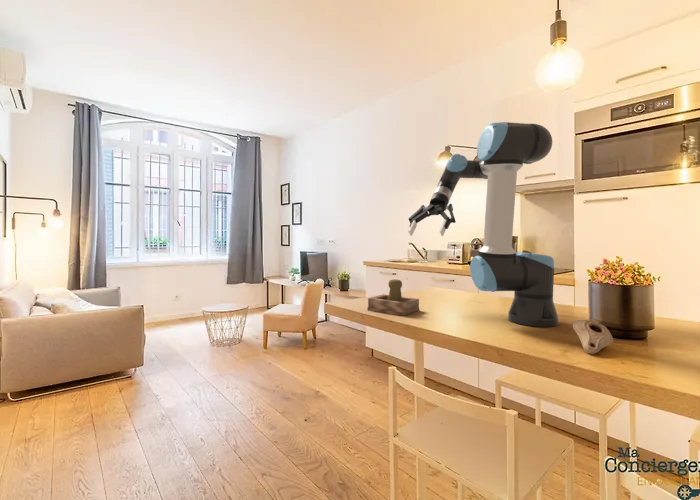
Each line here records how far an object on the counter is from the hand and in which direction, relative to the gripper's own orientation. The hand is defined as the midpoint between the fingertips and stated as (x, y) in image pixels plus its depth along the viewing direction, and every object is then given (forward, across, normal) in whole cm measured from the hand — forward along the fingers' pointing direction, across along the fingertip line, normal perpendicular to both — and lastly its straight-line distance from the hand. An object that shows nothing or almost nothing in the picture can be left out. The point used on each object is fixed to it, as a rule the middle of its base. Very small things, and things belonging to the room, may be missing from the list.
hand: (425, 233), depth 142 cm
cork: (+31, +5, -10) cm, 33 cm away
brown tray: (+31, +6, -11) cm, 34 cm away
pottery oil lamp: (+38, -57, -5) cm, 69 cm away
